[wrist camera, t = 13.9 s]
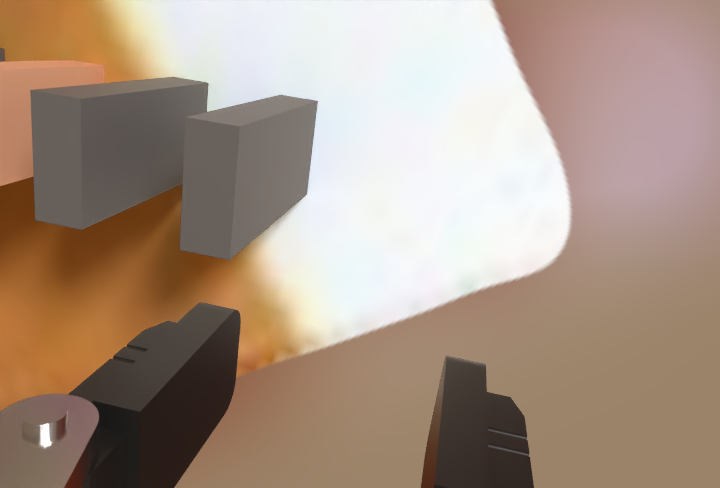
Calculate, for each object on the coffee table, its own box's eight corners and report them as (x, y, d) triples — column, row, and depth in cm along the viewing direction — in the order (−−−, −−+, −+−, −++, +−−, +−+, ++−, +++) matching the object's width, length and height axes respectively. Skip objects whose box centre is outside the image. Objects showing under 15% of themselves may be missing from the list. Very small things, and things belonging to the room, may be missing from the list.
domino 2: (169, 168, 34) (35, 220, 24) (172, 77, 32) (30, 89, 22) (203, 174, 34) (82, 230, 23) (208, 82, 32) (80, 98, 22)
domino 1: (72, 150, 35) (-98, 192, 24) (70, 59, 33) (-113, 64, 23) (104, 156, 34) (-54, 201, 24) (104, 65, 33) (-66, 72, 22)
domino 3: (271, 187, 33) (179, 249, 23) (280, 95, 32) (185, 117, 21) (306, 194, 33) (229, 260, 23) (317, 101, 31) (239, 126, 21)
